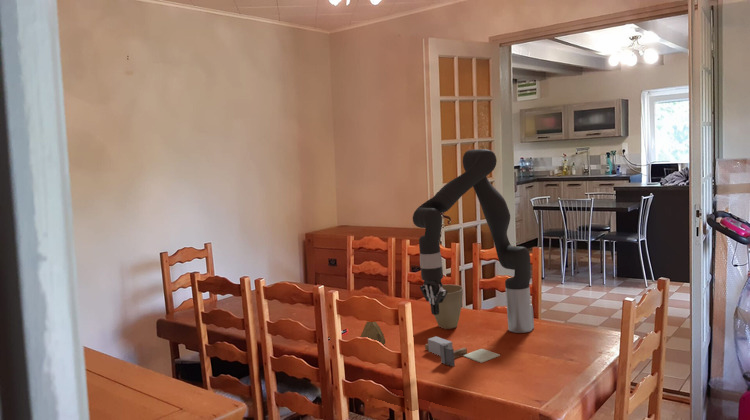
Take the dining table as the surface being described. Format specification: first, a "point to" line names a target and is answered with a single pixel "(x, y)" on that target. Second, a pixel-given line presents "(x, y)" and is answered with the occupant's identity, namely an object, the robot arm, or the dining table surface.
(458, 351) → the clamp rails
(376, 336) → the rock
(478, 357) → the mat
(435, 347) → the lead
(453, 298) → the plant pot
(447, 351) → the grey stepped block
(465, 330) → the dining table surface
